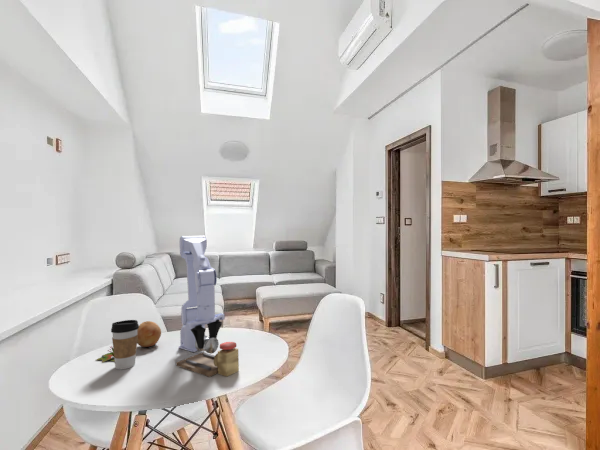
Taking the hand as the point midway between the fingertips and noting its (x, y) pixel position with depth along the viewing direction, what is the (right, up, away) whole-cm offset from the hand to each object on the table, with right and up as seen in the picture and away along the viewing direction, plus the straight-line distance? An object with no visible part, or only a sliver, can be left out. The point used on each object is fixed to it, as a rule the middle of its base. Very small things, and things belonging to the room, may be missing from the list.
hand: (206, 345), depth 107 cm
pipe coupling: (0, -2, 0) cm, 2 cm away
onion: (-29, -8, +20) cm, 37 cm away
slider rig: (+2, -7, -1) cm, 7 cm away
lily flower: (-37, -9, +10) cm, 39 cm away
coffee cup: (-28, -8, +1) cm, 29 cm away
